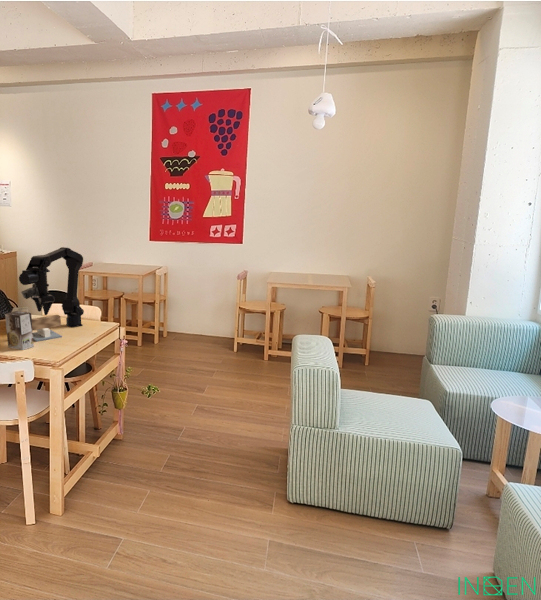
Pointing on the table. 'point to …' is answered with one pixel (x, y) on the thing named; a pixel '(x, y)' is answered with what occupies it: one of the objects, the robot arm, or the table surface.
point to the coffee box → (19, 330)
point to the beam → (46, 322)
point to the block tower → (21, 310)
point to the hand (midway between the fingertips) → (42, 313)
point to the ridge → (45, 335)
